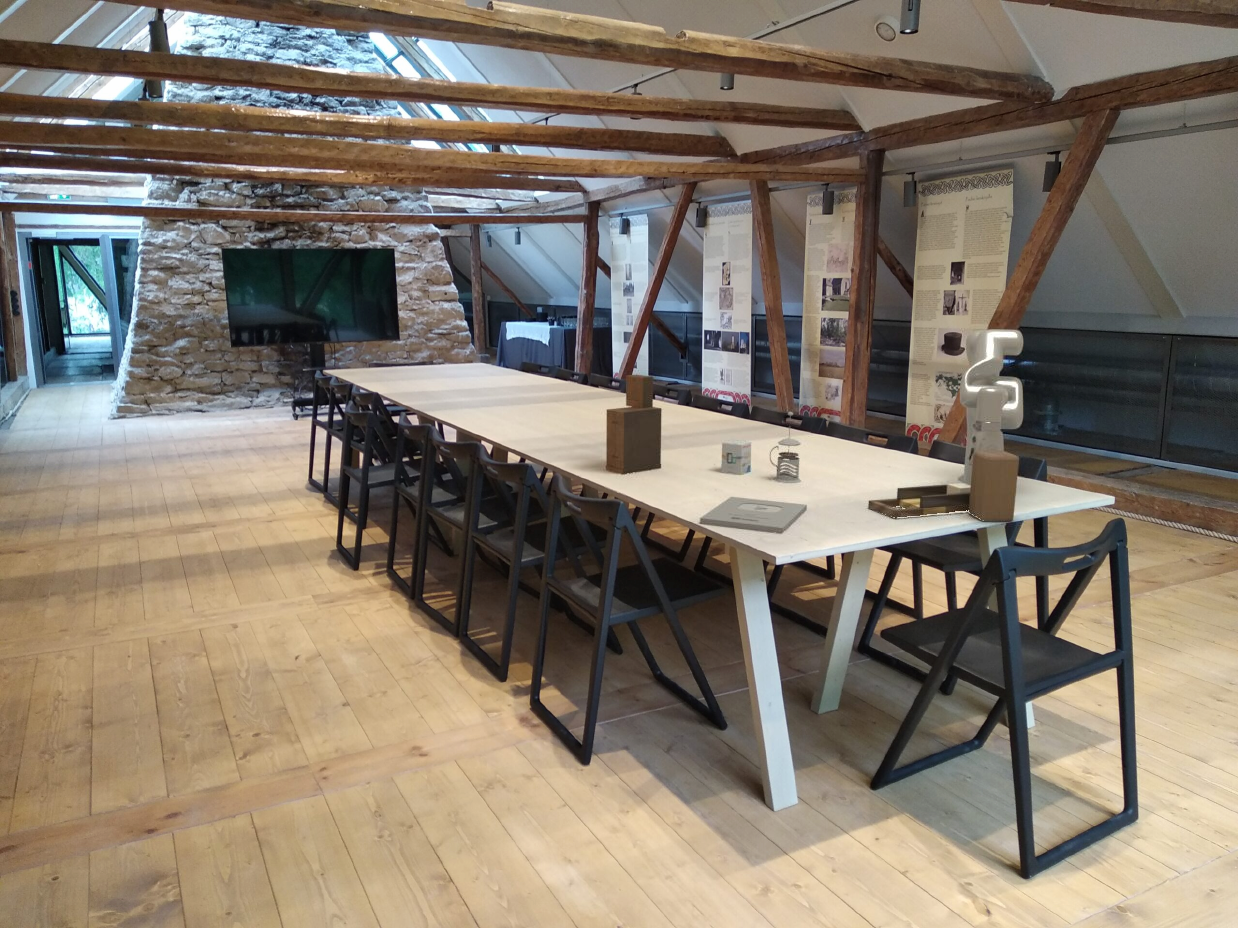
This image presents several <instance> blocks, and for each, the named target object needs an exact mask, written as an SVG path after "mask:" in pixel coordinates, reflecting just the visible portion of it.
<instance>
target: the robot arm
mask: <svg viewBox="0 0 1238 928" xmlns="http://www.w3.org/2000/svg"><path fill="white" fill-rule="evenodd" d="M965 340H966V341H965V352H966V354H965V355H966V359H967V361H968V364H969V368H967V369H966V370H965V372H964V373H963V375H962V377H961V380H960V383H959V384H960V385H959V388H960V389H959V403H960V404H961V406H963V408H965V409H966V414H965V415H966V445H965V457H964V468H963V469H964V472H963V474H962V475H961V476H958V477H957V481H960V482H961V483H964V484H968V485H971V477H972V465H973V454H974V452H975V451H1005V450H1004V449H1005V448H1004V446H1005V445H1004V435H1003V431H1001V430H1002V429H1003V430H1017V429H1018V428H1020V427H1021V425H1022V423H1023V419H1024V397H1023V396H1024V393H1023V392H1024V391H1023V384H1022V382H1021V381H1022V380H1021V379H1019V378H1018V377H1016V376H1015V377H1014V376H1000V375H999V373H1001V371H1002V369H1003V368H1004V356H1018V355H1020V354H1021V353H1022V351H1023V347H1024V337H1023V334H1022V332H1021V331H1020V330H1019V329H1000V328H999V329H996V328H995V329H992V328H991V329H981V330H980V329H979V330H975V331H972V332H970V333H969V334H968V335H967V337H966V339H965Z"/></svg>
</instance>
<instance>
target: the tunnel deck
mask: <svg viewBox="0 0 1238 928" xmlns="http://www.w3.org/2000/svg"><path fill="white" fill-rule="evenodd" d="M896 490H897V491H896V497H895V498H884V499H872V500H871V499H870V500H868V503H867V505H868V506H867V507H868V509H869V508H871V509H873V510H872V511H874V510H876V511H878V512H877V513H879V512H880V513H879V514H881V513H883V514H886V515H888V516H892V517H895V518H897V517H907V516H920V515H927V514H937V513H949V512H955V511H966V510H967V511H968V510H969V499H970V492H968V493H955V494H947V484H934V485H923V486H920V485H919V486H907V487H897V489H896ZM896 506H900V507H903V508H905V509H902V508H893V507H896ZM871 509H870V510H871ZM876 511H875V512H876ZM883 514H882V515H883ZM886 515H885V516H886ZM888 516H887V517H888Z"/></svg>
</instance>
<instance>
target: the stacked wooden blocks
mask: <svg viewBox="0 0 1238 928" xmlns="http://www.w3.org/2000/svg"><path fill="white" fill-rule="evenodd" d="M625 380H626V381H625V383H626V384H625V388H626V389H625V406H626V407H617V408H608V409H606V446H605V447H606V452H605V453H606V454H605V455H606V458H605V459H606V463H605V464H606V465H605V470H606V471H608V472H611V473H615V472H616V473H615V474H619V473H620V475H627V473H629V474H633V472H635V473H641V472H647V471H652V470H657V469H659V470H660V469H662V460H661V459H662V407H655V406H653V404H654V403H653V402H654V399H653V397H654V395H653V394H654V376H649V375H643V374H629V375H626V376H625Z"/></svg>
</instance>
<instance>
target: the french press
mask: <svg viewBox="0 0 1238 928" xmlns="http://www.w3.org/2000/svg"><path fill="white" fill-rule="evenodd" d="M793 415H794V413H793V412H792V411H788V412H787V416H789V419H791V416H793ZM790 436H791V427H789V433H788V438H783V439H781V440H779V441H778V442H777V444H778V445H780V446H786V447H787V446H788V447H795V446H796V447H797V446H800V445H801V442H800V441H799V440H797V439H795V438H791V437H790ZM778 445H776V446H773V447H772V449H770V451H769V461H770V463H771V465H772V466H774V467H776V477H775V478H774V479H773V480H775V481H774V482H776V483H781V482H782V483H784V484H797V483H801V482H802V480H801V478H800V477H799V475H800V472H799V471H800V457H799V453H797V452H793V451H792V452H791V451H790V450H788V451H783V452H782V451H781V452H779V453H778V455H779V456H777V464H775V463H774V462H773V460H772V458H771V457H772V456H771V455H772V454H771V453H772V451H774V450H775V449H779V446H778ZM794 470H795V471H794Z"/></svg>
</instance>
